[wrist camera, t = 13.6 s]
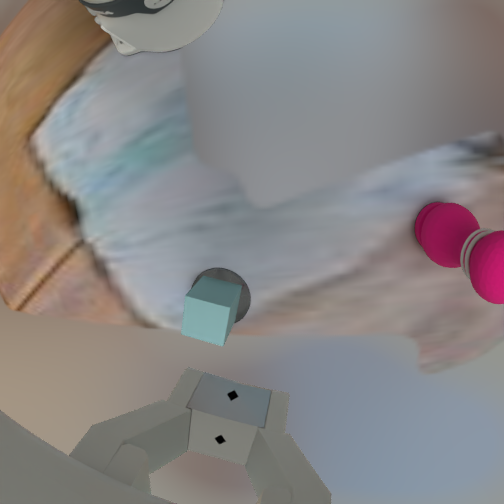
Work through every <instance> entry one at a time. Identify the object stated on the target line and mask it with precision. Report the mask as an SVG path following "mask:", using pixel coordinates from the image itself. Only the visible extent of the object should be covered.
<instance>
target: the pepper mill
mask: <svg viewBox="0 0 504 504" xmlns="http://www.w3.org/2000/svg"><path fill="white" fill-rule="evenodd" d="M415 234H416V237H417V240H418V242H419V243H420V245H421V246H422V247H423V248H424V251H425V252H426V254H427V256H428V257H429V258H430V259H431V260H432V261H434V262H435V263H437V264H438V265H441V266H443V267H449V268H457V267H462V270H463V272H464V274H465V275H466V277H468V278H469V279H470V280H471V283H472V286H473V288H474V289H475V291H476V292H477V293H478V294H479V296H480V297H482V298H483V299H485V300H486V301H488V302H491V303H494V304H504V231H502V230H501V231H493V230H491V229H488V228H482V229H480V227H479V224H478V222H477V220H476V218H475V217H474V216H473V214H472V213H471V212H470V211H469V210H467V209H466V208H464V207H463V206H461V205H459V204H456V203H440V202H435V203H431V204H429V205H427V206H426V207H424V208H423V209H422V210H421V212H420V213H419V215H418V217H417V219H416V223H415Z"/></svg>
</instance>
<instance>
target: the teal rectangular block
mask: <svg viewBox="0 0 504 504" xmlns="http://www.w3.org/2000/svg"><path fill="white" fill-rule="evenodd" d="M241 288H242V285H239V284H234V283H230V282H226V281H222V280H218V279H215V278H211V277H207V276H202V277H201V279H200V280H199V281H198V282H197V283H196V284H195V285H194V287H193V288H192V289H191V290H190V291H189V292H188V293H187V294H186V296H185V303H184V312H183V322H182V332H181V334H182V335H186V336H189V337H193V338H196V339H199V340H203V341H206V342H210V343H213V344H217V345H220V346H224V344H225V341H226V339H227V337H228V335H229V333H230V331H231V329H232V326H233V324H234V322H235V319H236V314H237V309H238V304H239V299H240V293H241Z"/></svg>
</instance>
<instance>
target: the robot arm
mask: <svg viewBox="0 0 504 504" xmlns="http://www.w3.org/2000/svg"><path fill="white" fill-rule="evenodd" d="M79 2H80V3H82V4H83V5H85V7H87V10H88V11H89V12H90V13H91V14H92V15H94V16H96V18H95V19H94V20H95V21H96V23H98V24H99V25H101V24H102V25H101V28H102V29H103V30H104V31H105V32H107V33H109V34H110V36H111V38H112V40H113V42H114V44H115V46H116V48H117V50H118V52H119V53H121V54H122V55H124V56H127V55H132V54H135V53H138V52H141V51H149V52H166V51H172V50H175V49H178V48H181V47H184V46H186V45H188V44H190V43H191V42H193V41H195V40H196V39H198V38H199V37H200V36H201V35H203V34H204V33H205V32H206V31H207V30H208V29H209V28H210V27H211V26H212V25H213V23H214V22H215V21H216V19H217V17H218V16H219V14H220V11H221V9H222V5H223V0H79ZM122 42H123V43H122ZM288 403H289V393H286V392H281V391H276V390H270V389H265V388H261V387H257V386H252V385H248V384H244V383H240V382H236V381H233V380H229V379H226V378H223V377H219V376H216V375H212V374H209V373H206V372H202V371H199V370H196V369H193V368H190V367H188V368H187V369H186V370H185V371H184V373H183V374H182V376H181V378H180V379H179V381H178V383H177V384H176V386H175V388H174V390H173V391H172V393H171V395H170V396H169V398H168V400H167V401H164V400H160V401H157V402H154V403H152V404H149V405H147V406H144V407H142V408H139V409H137V410H134V411H131V412H128V413H126V414H123V415H120V416H118V417H115V418H112V419H109V420H107V421H104V422H101V423H98V424H95V425H92V426H91V428H90V429H89V430H88V432H87V433H86V434H85V435H84V437H83V438H82V439H81V441H80V442H79V443H78V444H77V446H76V447H75V449H73V451H72V452H71V453H70V455H69V456H68V455H67V454H65V453H63V452H62V451H60V450H58V449H56V448H55V447H53V446H51V445H50V444H48V443H47V442H45V441H44V440H42V439H40V438H39V437H37V436H36V435H34V434H33V433H31V432H30V431H28V430H27V429H25V428H24V427H22V426H21V425H20V424H18V423H17V422H16V421H14V420H13V419H11V418H10V417H9V416H7V415H6V414H5V413H3V412H2V411H1V410H0V504H177V503H174V502H171V501H168V500H165V499H162V498H159V497H157V496H154V495H151V489H150V478H149V474H151V473H153V472H154V471H156V470H158V469H159V468H161V467H163V466H164V465H166V464H168V463H169V462H171V461H172V460H174V459H176V458H177V457H179V456H180V455H182V454H183V453H185V452H187V450H190V451H193V452H197V453H201V454H205V455H208V456H212V457H216V458H219V459H223V460H226V461H230V462H233V463H237V464H241V465H245V468H246V471H247V473H248V476H249V478H250V480H251V483H252V485H253V488H254V490H255V492H256V494H257V497H258V501H257V503H256V504H331V493H330V491H329V490H328V488H327V487H326V486H325V484H324V483H323V481H322V480H321V479H320V477H319V476H318V474H317V473H316V472H315V470H314V469H313V467H312V466H311V464H310V463H309V462H308V460H307V459H306V457H305V456H304V454H303V453H302V452H301V450H300V448H299V447H298V446H297V444H296V443H295V441H294V439H293V438H292V437H291V435H290V434H286V433H285V427H286V420H287V412H288Z"/></svg>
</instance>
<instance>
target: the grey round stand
mask: <svg viewBox="0 0 504 504" xmlns="http://www.w3.org/2000/svg"><path fill="white" fill-rule="evenodd" d="M202 276H207V277H211V278H215V279H218V280H222V281H226V282H230V283H234V284H239V285H242V288H241V293H240V299H239V304H238V309H237V314H236V319H235V322H234V323H236V322H238V321H240V320H241V319H242V318H243V317H244V316H245V315H246V313H247V311H248V309H249V306H250V292H249V289H248V287H247V285H246V283H245V282H244V280H243V279H242V278H241V277H240V276H238V275H237V274H236V273H234V272H232V271H230V270H227V269H223V268H213V269H209V270H206V271H204V272H203V273H201V274H200V275H199V276H198V277H197V278H196V280H195V281H194V283H193V285H192V288H193V287H194V285H195V284H196V283H197V282H198V281H199V280H200V279H201V277H202ZM192 288H191V289H192Z"/></svg>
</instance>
